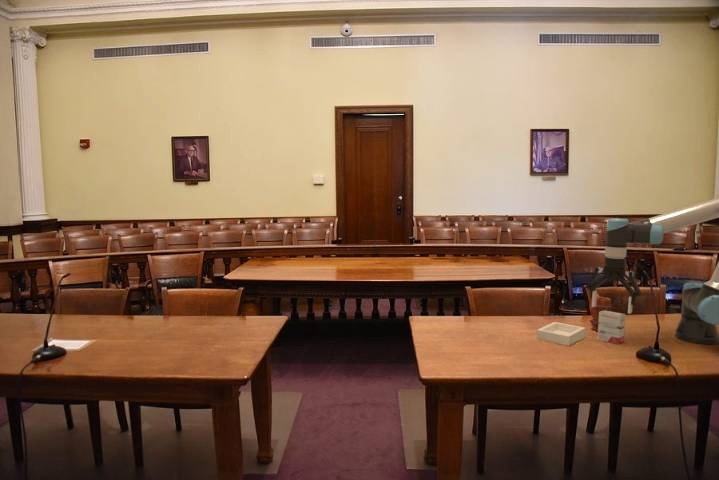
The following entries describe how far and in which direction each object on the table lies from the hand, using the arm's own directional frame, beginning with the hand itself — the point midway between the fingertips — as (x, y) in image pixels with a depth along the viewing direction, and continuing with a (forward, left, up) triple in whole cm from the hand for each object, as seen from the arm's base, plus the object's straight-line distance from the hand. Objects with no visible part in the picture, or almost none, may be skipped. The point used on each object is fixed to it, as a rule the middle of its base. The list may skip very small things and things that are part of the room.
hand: (611, 309), depth 199 cm
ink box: (0, 0, -13) cm, 13 cm away
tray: (+16, +10, -13) cm, 23 cm away
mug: (+10, -15, -13) cm, 22 cm away
